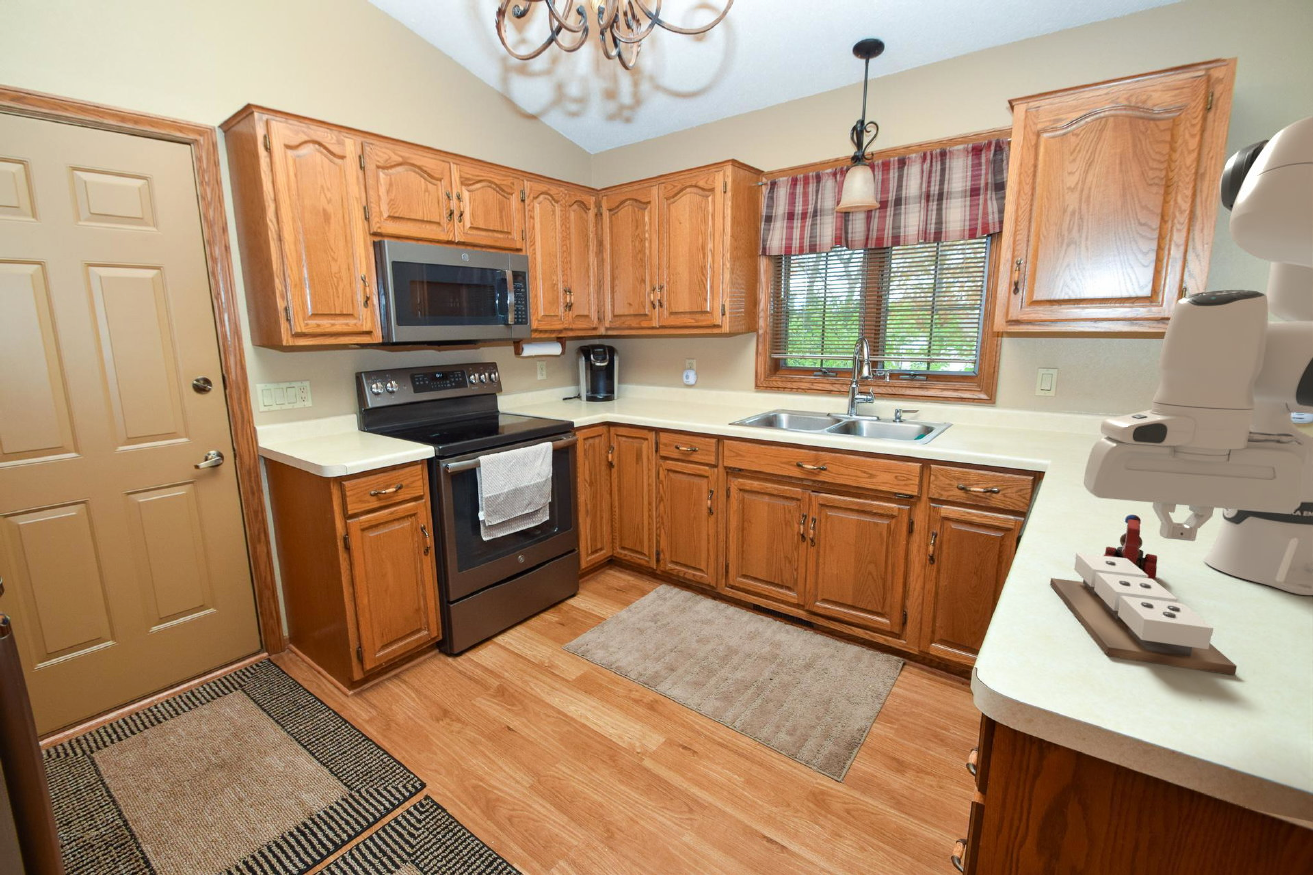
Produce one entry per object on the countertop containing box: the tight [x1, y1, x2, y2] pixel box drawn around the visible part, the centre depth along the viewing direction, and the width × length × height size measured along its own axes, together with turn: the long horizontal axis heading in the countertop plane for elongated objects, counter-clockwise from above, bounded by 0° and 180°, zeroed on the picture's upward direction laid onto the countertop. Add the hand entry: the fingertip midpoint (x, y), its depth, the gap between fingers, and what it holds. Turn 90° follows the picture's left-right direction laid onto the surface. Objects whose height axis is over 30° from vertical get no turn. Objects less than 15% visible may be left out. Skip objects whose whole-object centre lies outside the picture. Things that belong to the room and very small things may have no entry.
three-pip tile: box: [1118, 596, 1214, 649], centre depth 73 cm, size 7×7×3 cm
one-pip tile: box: [1074, 552, 1148, 587], centre depth 87 cm, size 7×7×3 cm
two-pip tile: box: [1094, 572, 1178, 611], centre depth 80 cm, size 7×7×3 cm
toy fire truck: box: [1102, 514, 1158, 581], centre depth 95 cm, size 7×12×10 cm, turn 139°
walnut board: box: [1049, 577, 1238, 676], centre depth 80 cm, size 13×22×3 cm, turn 161°
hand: (1176, 538), depth 70 cm, fingers closed
